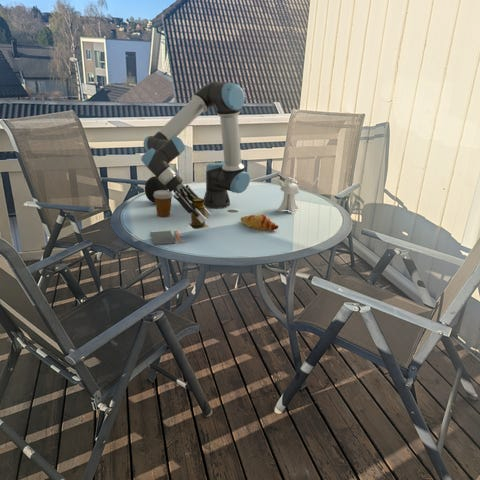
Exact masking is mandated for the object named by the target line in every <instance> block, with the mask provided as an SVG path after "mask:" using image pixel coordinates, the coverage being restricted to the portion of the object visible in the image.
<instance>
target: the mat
mask: <svg viewBox="0 0 480 480" xmlns="http://www.w3.org/2000/svg"><path fill="white" fill-rule="evenodd" d="M150 236H151V238H152V239H151V241H152V242H153V245H154V246H163V245H173V244H174V245H175V244H176V241H175V237H174V235H173V234H172V231H171V230H163V231H162V230H161V231H159V230H158V231H151V232H150Z"/></svg>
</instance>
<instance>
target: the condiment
mask: <svg viewBox="0 0 480 480" xmlns="http://www.w3.org/2000/svg"><path fill="white" fill-rule="evenodd" d="M203 199H204V198H201V197H199V198H194V199H192V202H191V203H192V205H193V206H194V208H195V209H196V208H197V209H198V210H199V212H200V213H201V214H202V215H203V216H204V217H205V208H206V206H204V200H203ZM190 217H191V218H190V219H191V221H190V222H188V223H187V224H188V225H189V226H190V227H191V228H192V229H193V230H202V229H207V228H210V226H209V224H206V220H205V221H204V222H203V223H201V222H200V221H199V220H198V219H197V218H196V216H195V215H194V214H193V213H190ZM205 218H206V217H205Z"/></svg>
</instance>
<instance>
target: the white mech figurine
mask: <svg viewBox="0 0 480 480" xmlns="http://www.w3.org/2000/svg"><path fill="white" fill-rule="evenodd" d="M277 181H278V185H279V186H280V189H279V190H280V191H281V192H283V197H282V198H283V199H282V200H281V204H280V205H279V207H278V208H277V211H278V210H279V211H282V210H289V211H291V212H295V213H296V210H295V209H298V210H299V207H298V206H297V205H298V204H297V203H296V198H295V197H296V196H295V195H298V194H299V193H300V189H299V182H298V181H297V179H295V178H292V177H289V176H288V177H286V178H285V180H284V181H283V180H281V179H278V180H277Z"/></svg>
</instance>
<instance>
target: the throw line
mask: <svg viewBox="0 0 480 480" xmlns="http://www.w3.org/2000/svg"><path fill="white" fill-rule="evenodd" d="M174 233H175V235H176V238H177V240H178V242H179V244H183V239H182V238H181V235H180V233H179V230H174Z"/></svg>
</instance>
